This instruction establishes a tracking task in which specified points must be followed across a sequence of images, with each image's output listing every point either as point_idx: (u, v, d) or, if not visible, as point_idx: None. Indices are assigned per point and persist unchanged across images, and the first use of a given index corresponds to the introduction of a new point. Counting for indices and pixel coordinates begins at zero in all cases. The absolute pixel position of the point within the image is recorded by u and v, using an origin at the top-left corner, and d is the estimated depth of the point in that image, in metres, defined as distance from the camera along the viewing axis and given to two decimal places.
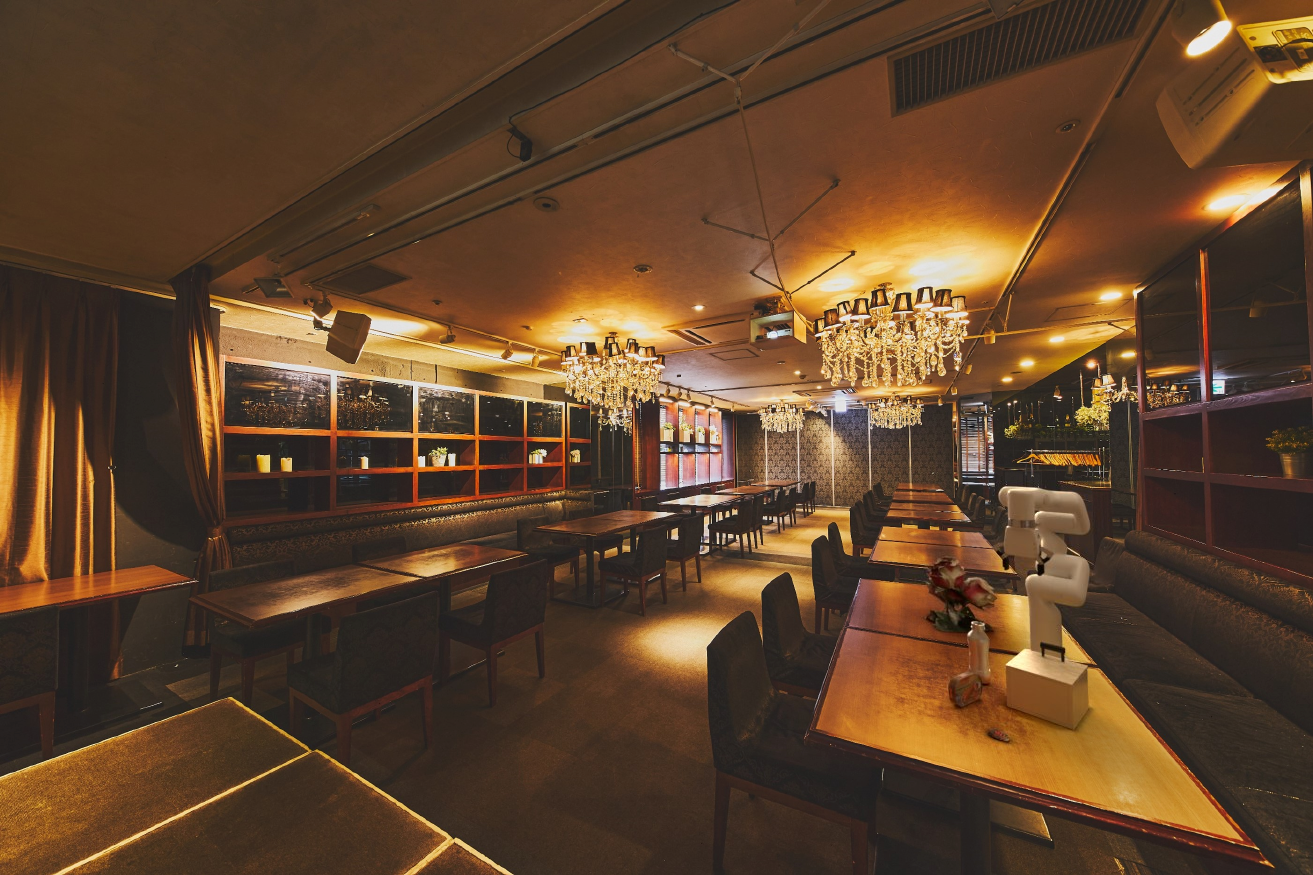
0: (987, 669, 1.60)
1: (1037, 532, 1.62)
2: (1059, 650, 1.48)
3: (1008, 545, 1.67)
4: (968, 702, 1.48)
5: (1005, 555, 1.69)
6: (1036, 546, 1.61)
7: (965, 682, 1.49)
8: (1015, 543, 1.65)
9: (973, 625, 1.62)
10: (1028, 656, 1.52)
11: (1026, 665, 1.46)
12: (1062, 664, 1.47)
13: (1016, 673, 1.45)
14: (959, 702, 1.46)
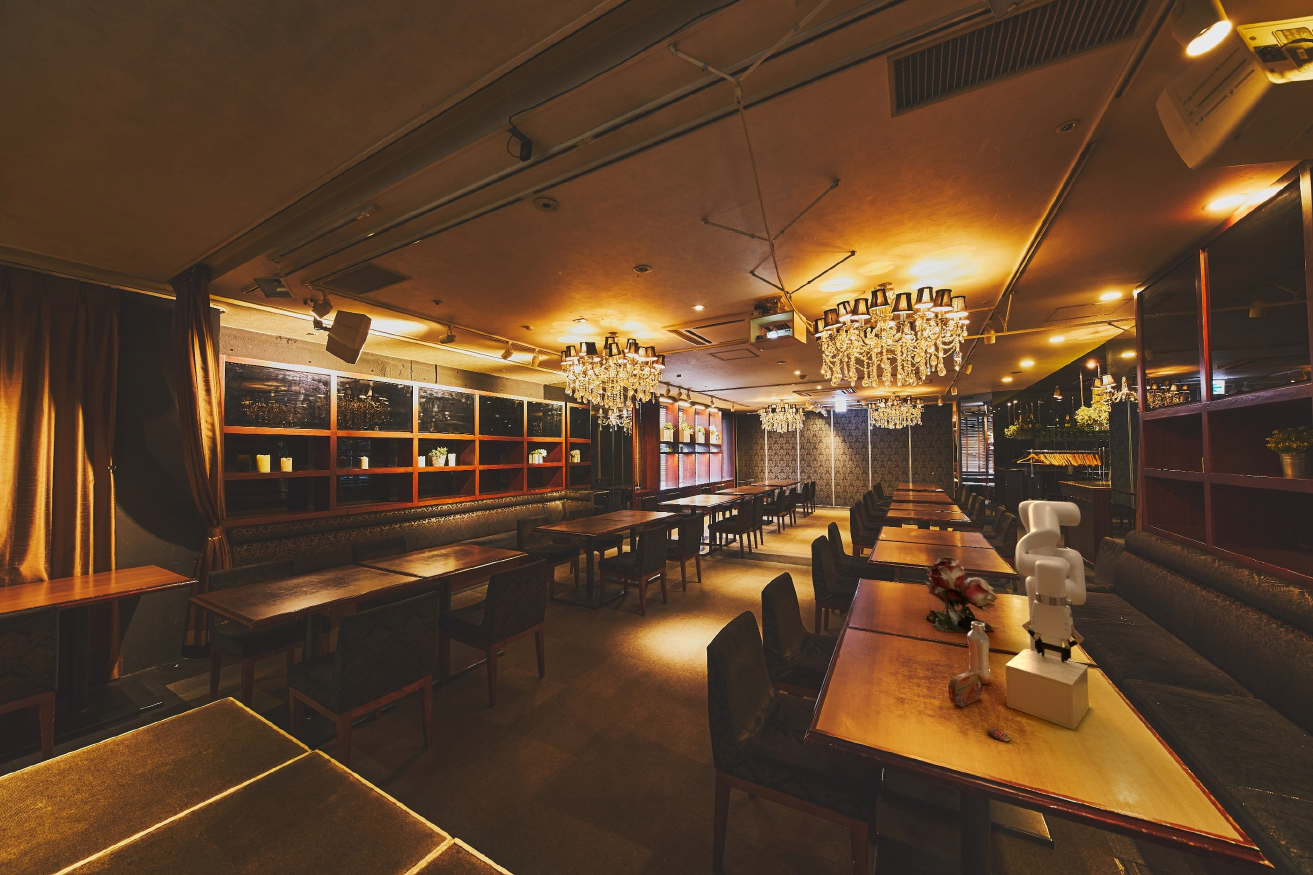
0: (987, 669, 1.60)
1: (1069, 610, 1.47)
2: (1059, 650, 1.48)
3: (1036, 622, 1.52)
4: (968, 702, 1.48)
5: (1038, 636, 1.52)
6: (1068, 627, 1.46)
7: (965, 682, 1.49)
8: (1044, 621, 1.50)
9: (973, 625, 1.62)
10: (1028, 656, 1.52)
11: (1026, 665, 1.46)
12: (1062, 664, 1.47)
13: (1016, 673, 1.45)
14: (959, 702, 1.46)
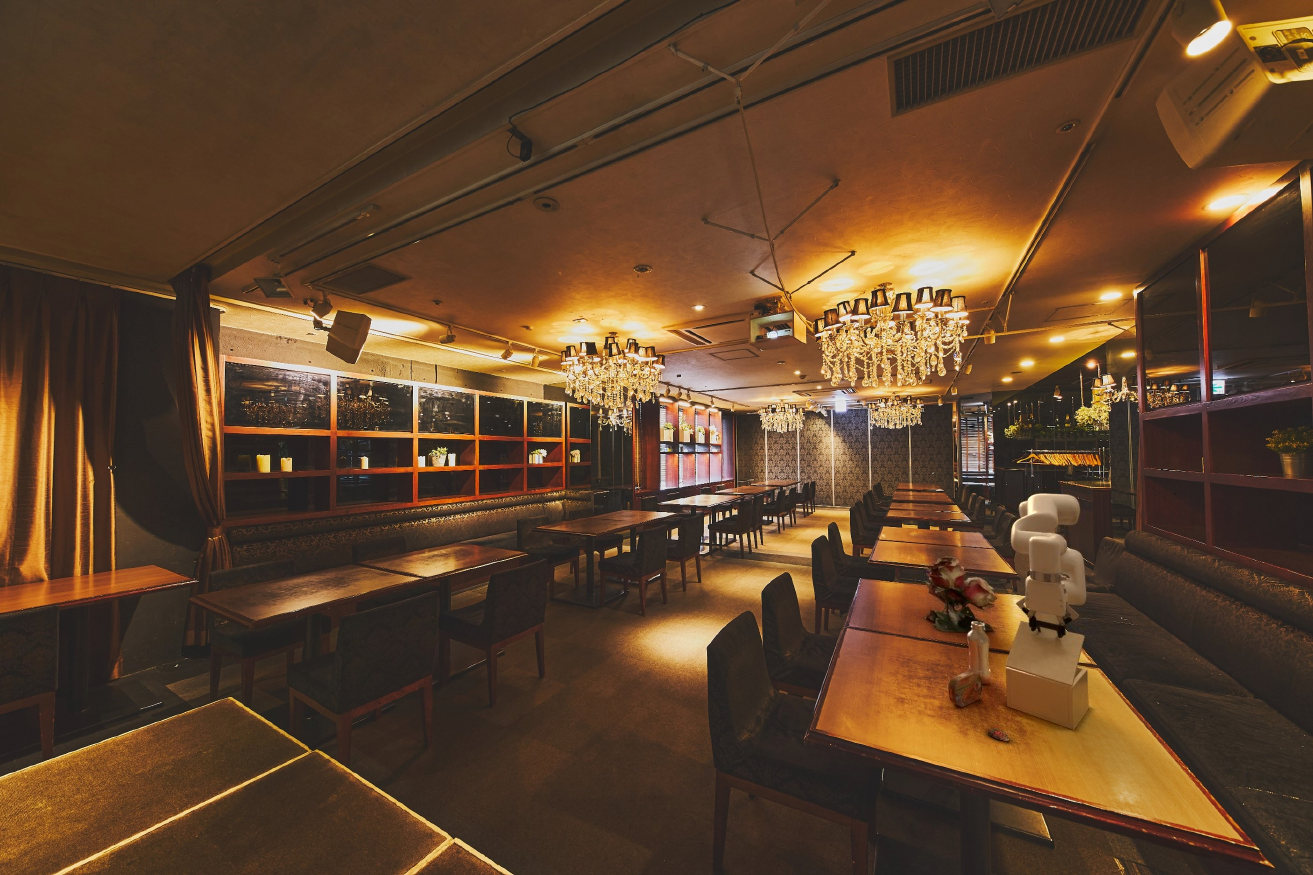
0: (987, 669, 1.60)
1: (1063, 587, 1.44)
2: (1054, 629, 1.46)
3: (1030, 600, 1.49)
4: (968, 702, 1.48)
5: (1032, 614, 1.49)
6: (1063, 603, 1.43)
7: (965, 682, 1.49)
8: (1039, 598, 1.47)
9: (973, 625, 1.62)
10: (1025, 637, 1.51)
11: (1025, 658, 1.46)
12: (1059, 642, 1.45)
13: (1016, 673, 1.45)
14: (959, 702, 1.46)
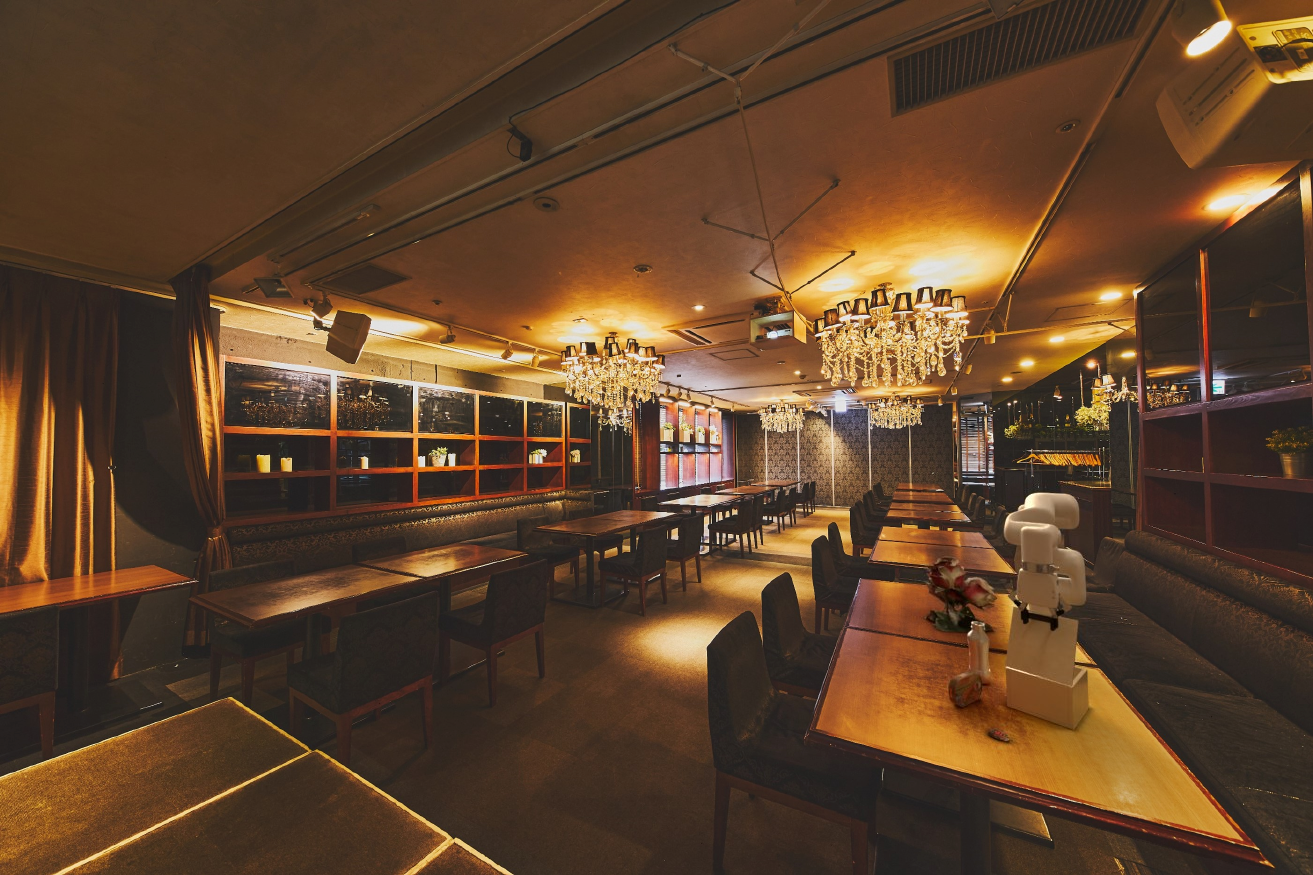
0: (987, 669, 1.60)
1: (1056, 578, 1.40)
2: (1047, 622, 1.42)
3: (1022, 591, 1.45)
4: (968, 702, 1.48)
5: (1024, 606, 1.45)
6: (1055, 595, 1.38)
7: (965, 682, 1.49)
8: (1030, 590, 1.43)
9: (973, 625, 1.62)
10: (1020, 627, 1.49)
11: (1023, 656, 1.45)
12: (1054, 631, 1.42)
13: (1016, 673, 1.45)
14: (959, 702, 1.46)
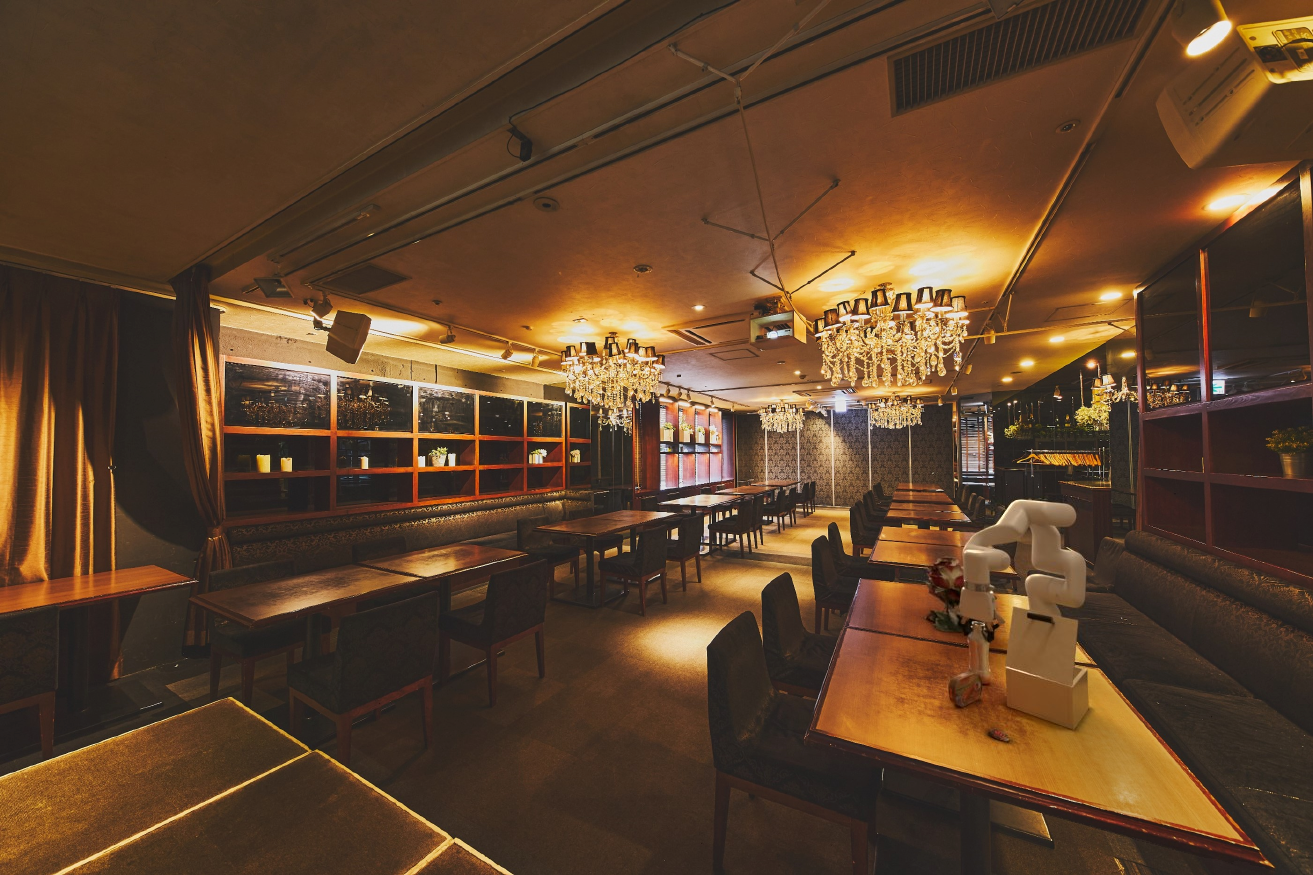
0: (987, 669, 1.59)
1: (992, 596, 1.59)
2: (1047, 622, 1.42)
3: (963, 607, 1.64)
4: (968, 702, 1.48)
5: (965, 620, 1.64)
6: (990, 611, 1.58)
7: (965, 682, 1.49)
8: (970, 606, 1.62)
9: (973, 625, 1.62)
10: (1020, 627, 1.49)
11: (1023, 656, 1.45)
12: (1054, 631, 1.42)
13: (1016, 673, 1.45)
14: (959, 702, 1.46)
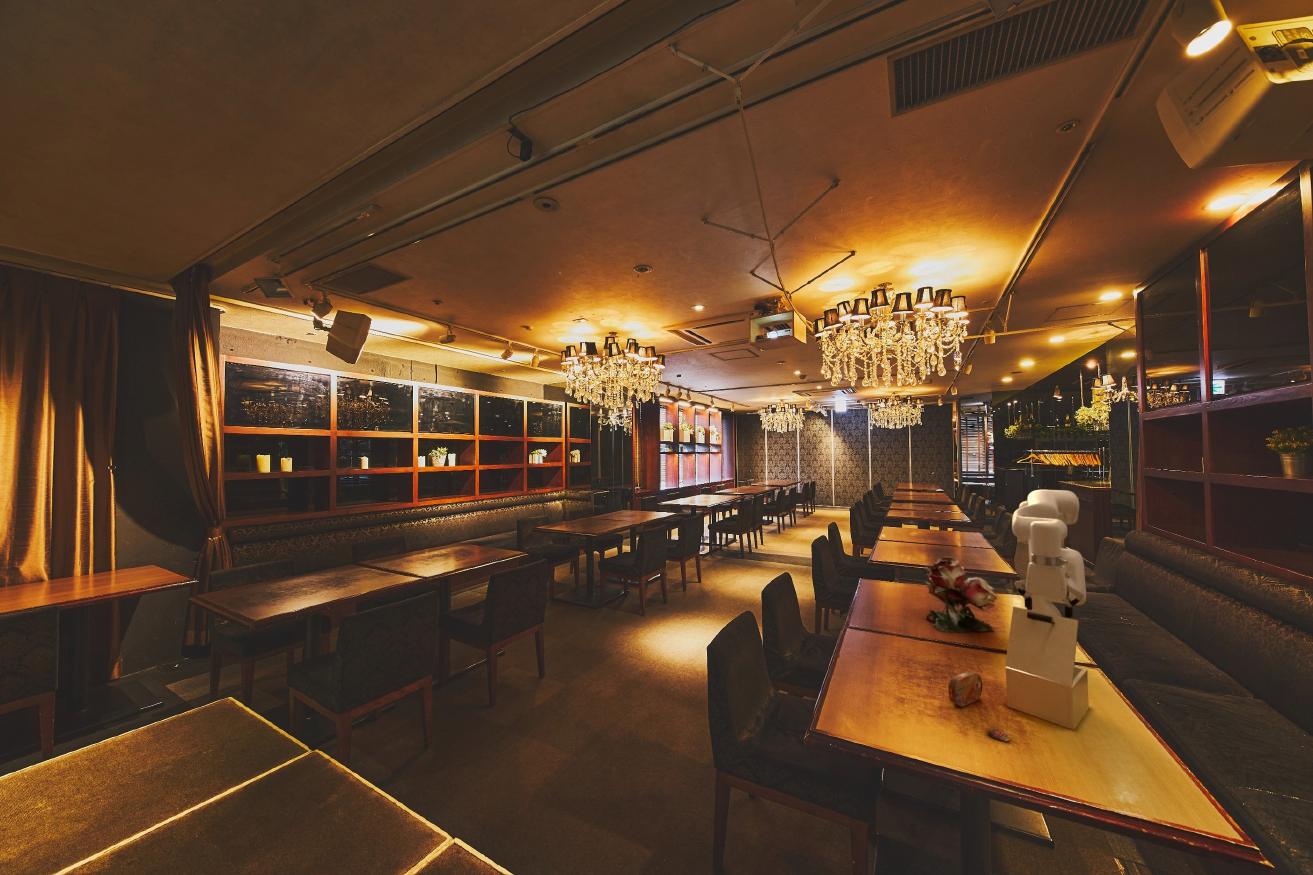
0: None
1: (1064, 570, 1.45)
2: (1047, 622, 1.42)
3: (1031, 584, 1.50)
4: (968, 702, 1.48)
5: (1028, 594, 1.52)
6: (1063, 586, 1.44)
7: (965, 682, 1.49)
8: (1040, 582, 1.49)
9: None
10: (1020, 627, 1.49)
11: (1023, 656, 1.45)
12: (1054, 631, 1.42)
13: (1016, 673, 1.45)
14: (959, 702, 1.46)
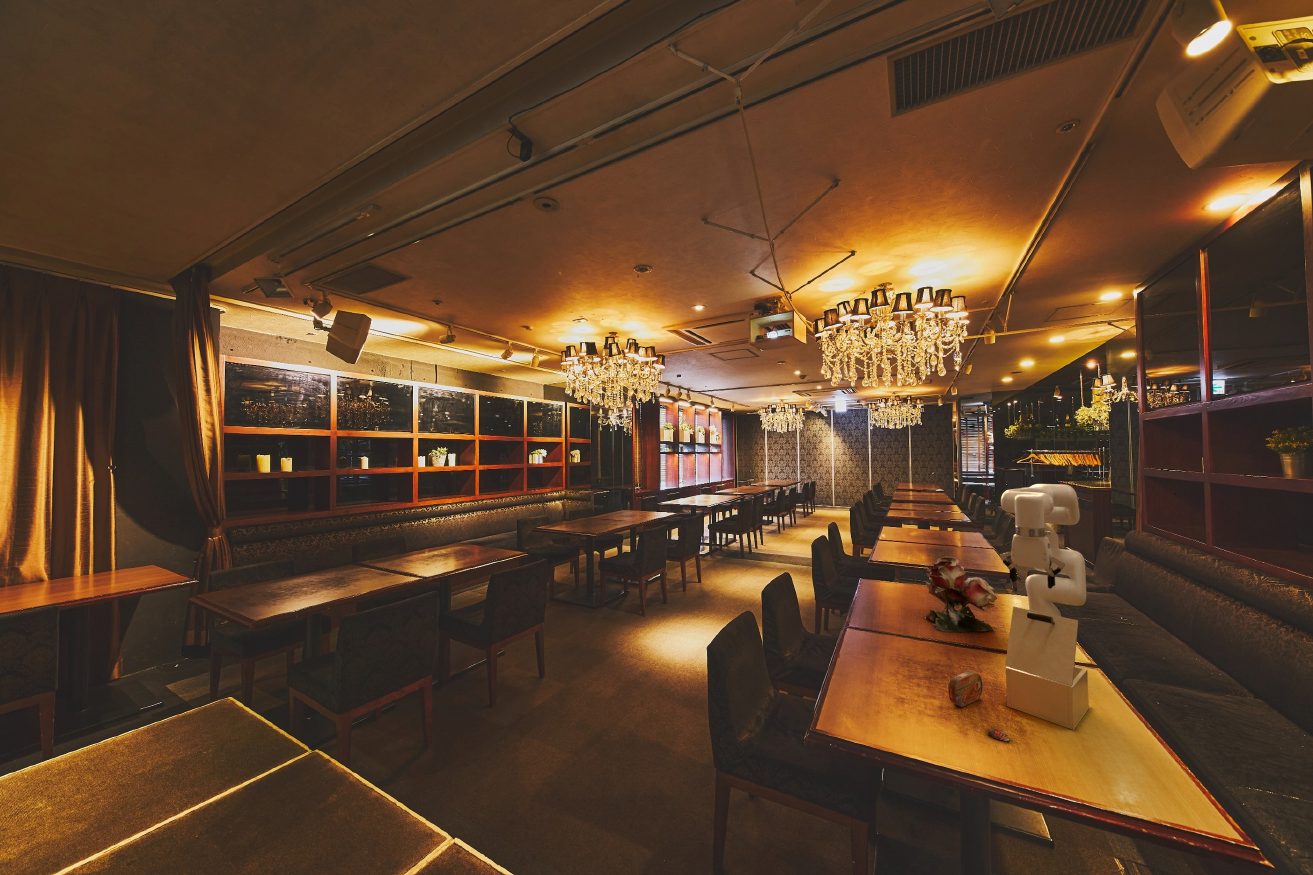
0: None
1: (1047, 541, 1.51)
2: (1047, 622, 1.42)
3: (1016, 555, 1.56)
4: (968, 702, 1.48)
5: (1012, 565, 1.57)
6: (1046, 556, 1.50)
7: (965, 682, 1.49)
8: (1024, 553, 1.54)
9: None
10: (1020, 627, 1.49)
11: (1023, 656, 1.45)
12: (1054, 631, 1.42)
13: (1016, 673, 1.45)
14: (959, 702, 1.46)
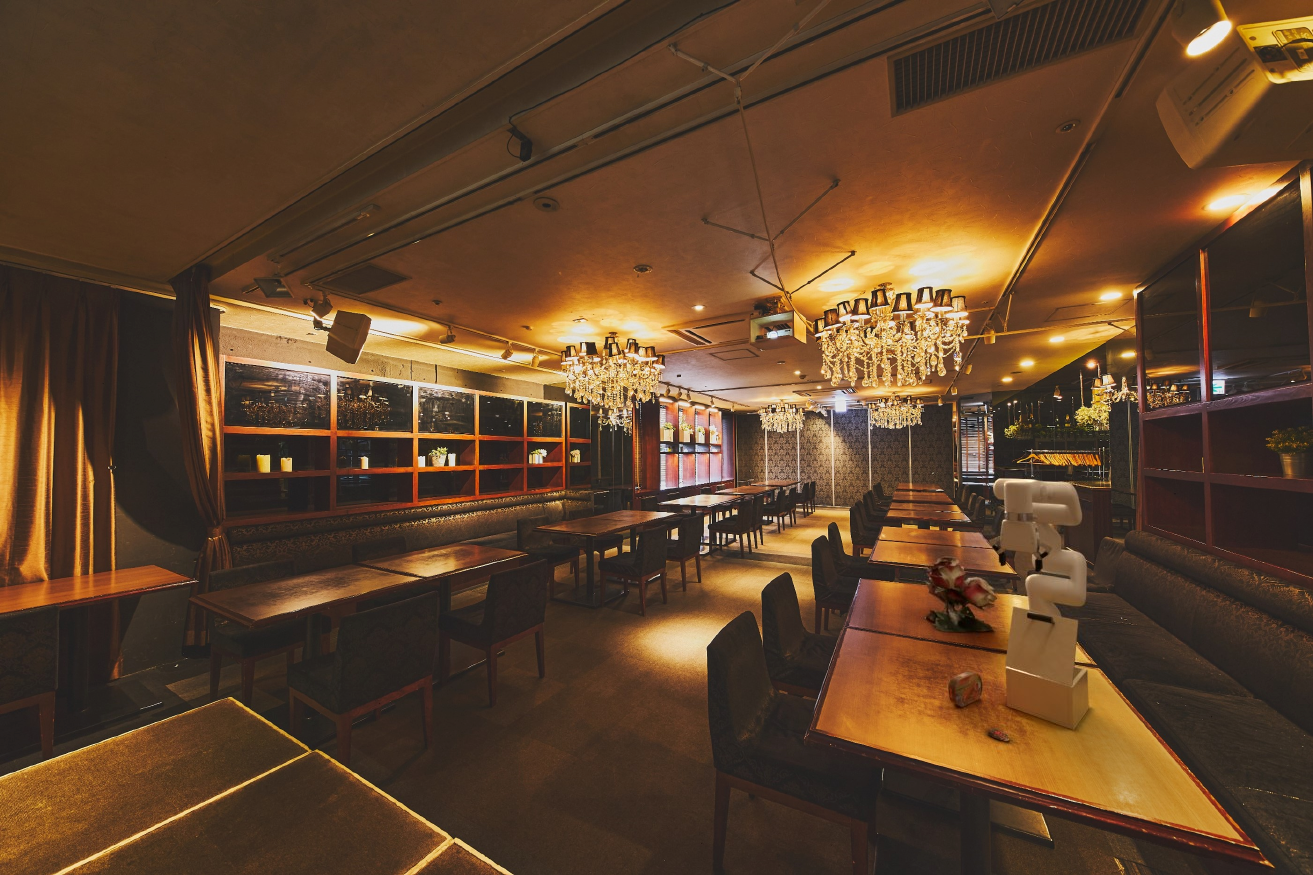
0: None
1: (1035, 526, 1.54)
2: (1047, 622, 1.42)
3: (1005, 539, 1.59)
4: (968, 702, 1.48)
5: (1001, 550, 1.61)
6: (1034, 540, 1.53)
7: (965, 682, 1.49)
8: (1012, 538, 1.58)
9: None
10: (1020, 627, 1.49)
11: (1023, 656, 1.45)
12: (1054, 631, 1.42)
13: (1016, 673, 1.45)
14: (959, 702, 1.46)
